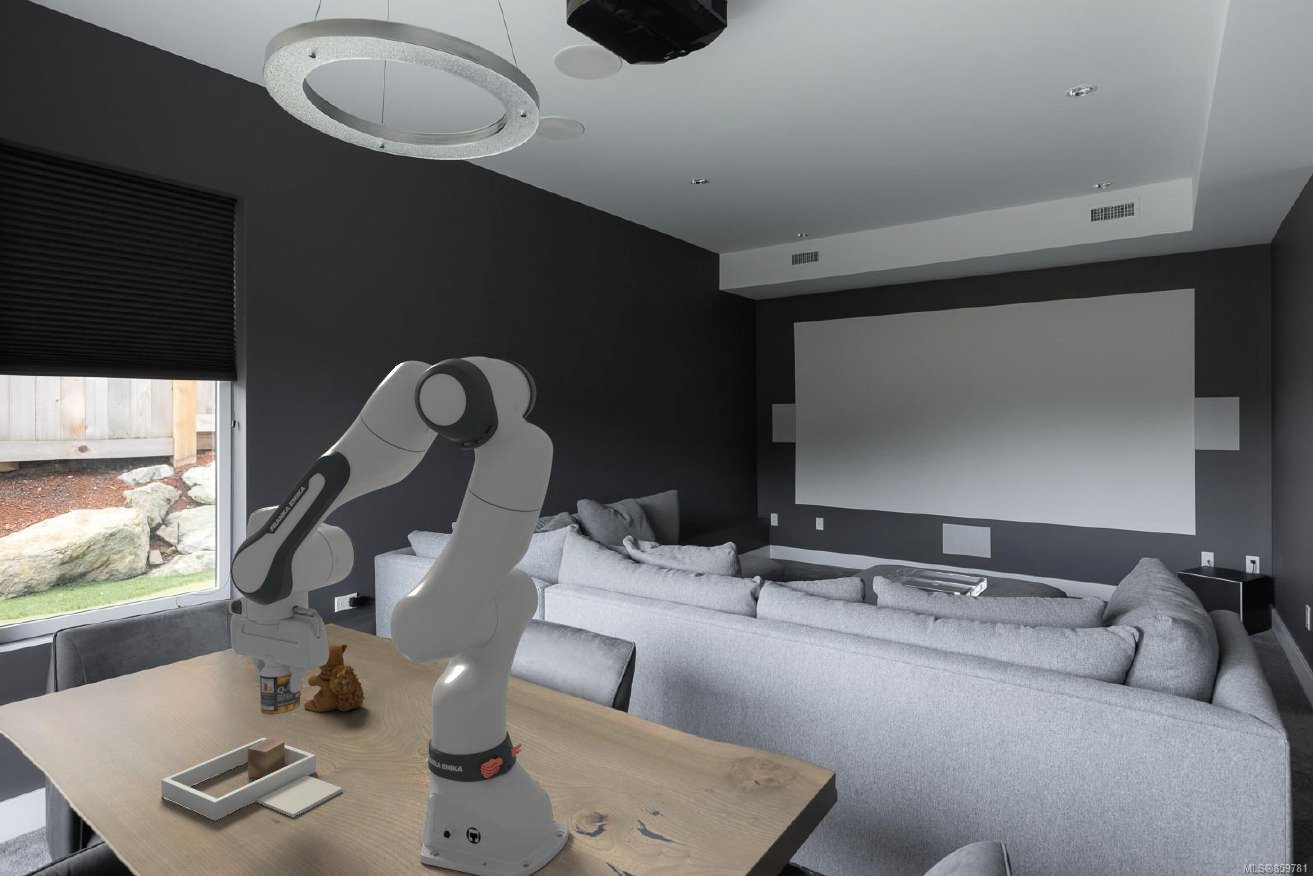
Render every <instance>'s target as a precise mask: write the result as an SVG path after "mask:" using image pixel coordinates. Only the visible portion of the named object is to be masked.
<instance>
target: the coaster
mask: <svg viewBox="0 0 1313 876" xmlns="http://www.w3.org/2000/svg"><path fill="white" fill-rule="evenodd" d="M342 792H343V787H341V786H338V785H336V784H332V783H330V782H327V781H324V780H321V779H319V778H316V777H313V776H311V775H309V776H308V775H306V776H304V777H302V778H300V779H298V780H296V781H294V782H292V783H290V784H288V785H286V786H284V787H282V788H280V789H278V790H276V791H274V792H272V793H270V794H268V795H266V796H264V797H261V798H259V799H257V801H256V804H257V803H259V804H258V805H260V804H262V805H264V806H263V807H265V806H268V807H271V808H273V809H274V810H273V811H275V810H278V811H279V812H278V813H280V812H281V813H280V814H282V813H283V814H282V815H284V814H286V815H285V816H287V815H288V816H287V817H289V816H292V817H294V818H296V817H297V816H296V815H298V816H300V815H302V814H303V812H304V813H305V812H307V811H308V810H310V809H313V808H315V807H316V806H318V805H320V804H322V803H324V802H326V801H327V800H330V799H332V798H333V797H334V796H335V797H336V795H339V794H341V793H342ZM262 805H261V806H262ZM301 813H302V814H301ZM299 814H300V815H299ZM295 816H296V817H295ZM292 817H291V818H292Z"/></svg>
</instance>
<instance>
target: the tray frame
mask: <svg viewBox="0 0 1313 876" xmlns="http://www.w3.org/2000/svg"><path fill="white" fill-rule="evenodd" d="M265 739H268V738H266V737H261V738H259V739H256V740H253V741H252V742H250V743H247V744H244V745H242V746H240V747H237V748H235V749H232V750H230V751H227V752H225V753H223V754H221V755H217V756H216V757H213V758H211V759H209V760H205V761H204V762H201V763H198V764H196V765H194V766H191V767H189V768H187V769H186V768H185V769H184V770H181V771H180V772H177V773H174V774H173V775H170V776H167V777H165V778H162V779H161V798H162V797H166V798H168V799H169V800H172V801H175V802H177V803H179V804H181V805H183V806H185V807H188V808H190V809H191V810H195V811H197V812H199V813H201V814H203V815H206V816H208V817H209V818H211V819H213V820H217V819H219V820H221V819H220V817H223V816H225V815H227V814H229V813H231V812H233V811H234V810H238V809H239V808H242V807H244V806H246V807H248V806H250V805H251V804H250V803H252V802H254V801H256V802H257V799H259V798H261V797H264V796H266V795H268V794H270V793H272V792H274V791H276V790H278V789H280V788H282V787H284V786H286V785H288V784H290V783H292V782H294V781H296V780H298V779H300V778H302V777H304V776H306V775H309V776H311V775H313V774H315V773H317V758H316V757H317V756H316V754H313V753H310V752H308V751H305V750H302V749H299V748H296V747H293V746H290V745H287V744H285V767H284V768H282V769H280V770H278V771H275V772H273V773H271V774H269V775H267V776H265V777H263V778H260V779H257V780H254V781H252V782H250V783H248V784H246V785H243V786H241V787H240V788H237V789H235V790H233V791H231V792H229V793H226V794H224V795H222V796H220V797H217V798H216V797H215V796H212V795H210V794H207V793H204V792H202V791H200V790H197V789H195V788H193V787H191V788H190V787H189V786H192V785H193V784H195V783H199V782H201V781H203V780H205V779H207V778H211V777H213V776H215V775H217V774H220V773H222V772H225V771H227V770H229V769H232V770H234V769H236V768H237V767H236V766H239V765H241V766H243V765H245V763H246V764H248V763H247V762H248V748H250V747H252V746H254V745H256V744H258V743H260V742H261V741H263V740H265ZM235 767H236V768H235ZM239 767H240V766H239ZM233 768H234V769H233ZM227 772H228V771H227ZM225 773H226V772H225ZM310 774H311V775H310ZM220 775H221V774H220ZM211 779H212V778H211ZM254 803H255V802H254ZM249 804H250V805H249ZM252 804H253V803H252ZM247 805H248V806H247ZM244 808H245V807H244ZM242 809H243V808H242ZM238 811H239V810H238ZM225 817H226V816H225ZM223 818H224V817H223ZM211 819H210V820H211ZM213 820H212V821H213ZM217 821H218V820H217Z"/></svg>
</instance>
